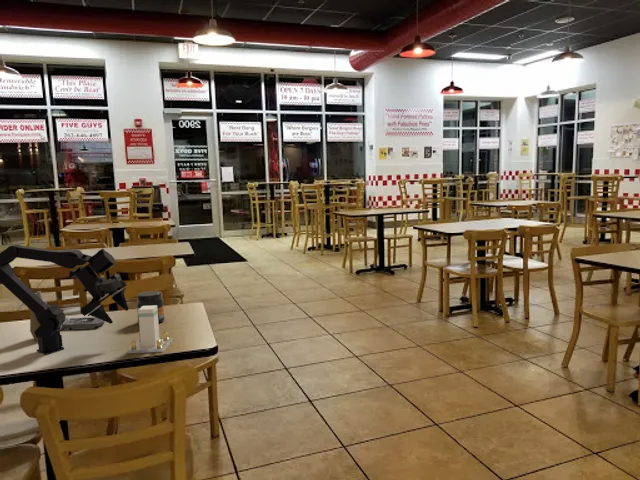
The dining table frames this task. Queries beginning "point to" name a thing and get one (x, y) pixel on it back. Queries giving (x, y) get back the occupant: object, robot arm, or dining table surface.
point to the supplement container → (151, 302)
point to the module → (148, 325)
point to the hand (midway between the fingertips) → (119, 316)
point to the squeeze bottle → (33, 320)
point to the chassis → (160, 346)
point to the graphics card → (81, 323)
